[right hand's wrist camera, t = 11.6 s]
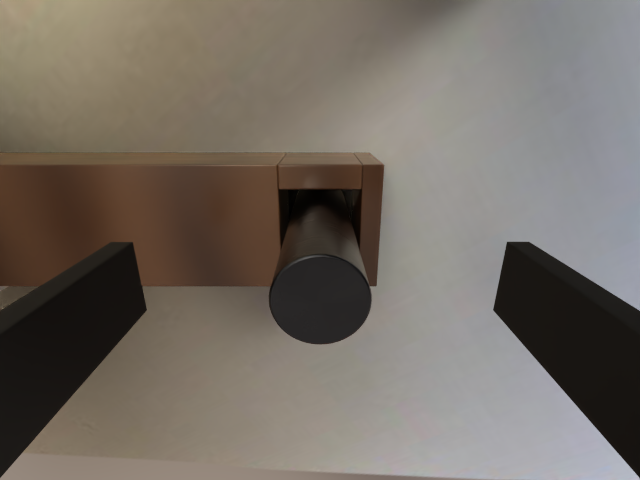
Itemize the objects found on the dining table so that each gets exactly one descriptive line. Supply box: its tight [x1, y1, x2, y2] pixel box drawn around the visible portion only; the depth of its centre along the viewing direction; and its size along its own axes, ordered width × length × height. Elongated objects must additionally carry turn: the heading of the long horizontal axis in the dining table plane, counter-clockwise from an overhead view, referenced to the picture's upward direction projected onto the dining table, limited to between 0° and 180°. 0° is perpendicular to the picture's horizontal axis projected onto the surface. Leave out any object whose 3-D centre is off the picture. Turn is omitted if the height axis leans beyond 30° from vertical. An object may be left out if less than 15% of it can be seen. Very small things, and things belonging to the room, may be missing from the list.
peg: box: [269, 189, 372, 344], centre depth 16 cm, size 3×3×12 cm
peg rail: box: [0, 153, 384, 286], centre depth 20 cm, size 26×6×5 cm, turn 90°
